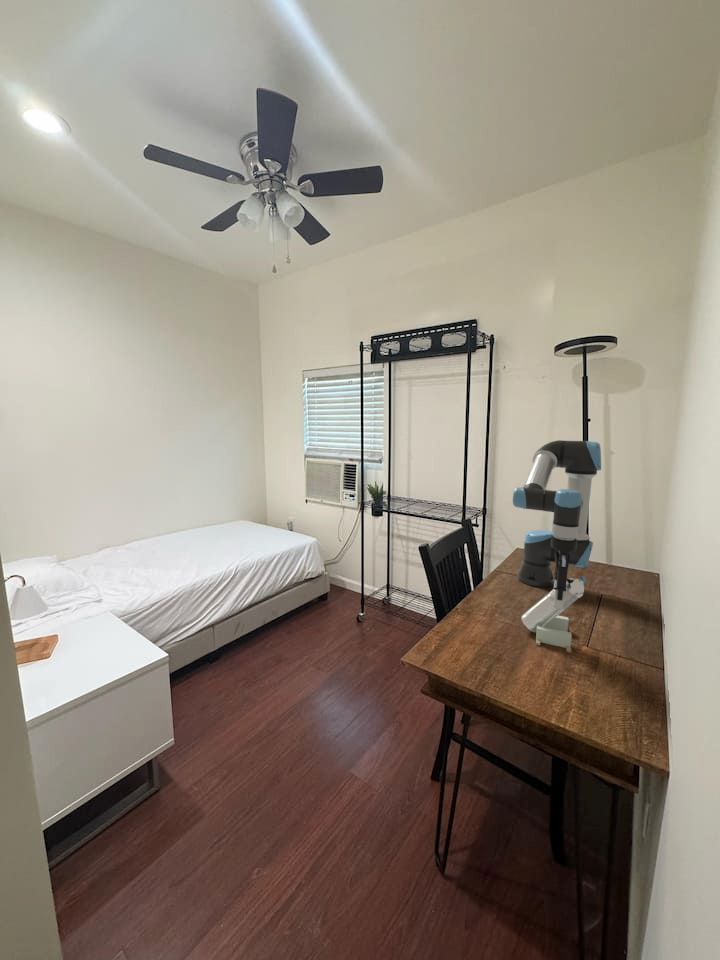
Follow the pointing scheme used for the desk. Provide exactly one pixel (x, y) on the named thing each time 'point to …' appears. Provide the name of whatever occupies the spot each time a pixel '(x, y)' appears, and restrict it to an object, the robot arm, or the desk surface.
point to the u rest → (555, 633)
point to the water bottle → (552, 605)
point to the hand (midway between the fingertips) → (557, 603)
